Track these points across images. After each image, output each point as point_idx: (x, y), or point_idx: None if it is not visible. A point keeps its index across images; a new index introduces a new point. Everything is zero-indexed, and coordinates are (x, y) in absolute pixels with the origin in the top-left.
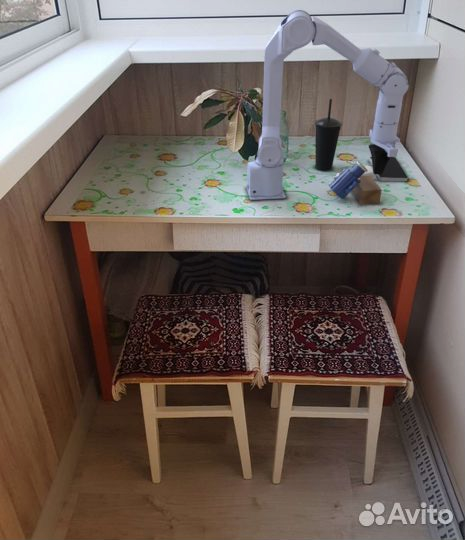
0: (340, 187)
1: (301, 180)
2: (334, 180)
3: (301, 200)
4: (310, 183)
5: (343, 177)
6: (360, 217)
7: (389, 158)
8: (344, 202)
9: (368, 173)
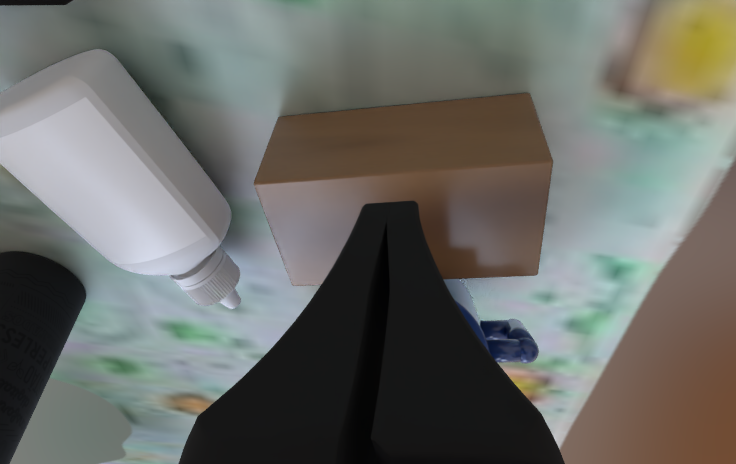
0: None
1: (233, 363)
2: None
3: None
4: (257, 344)
5: None
6: (674, 228)
7: (484, 348)
8: None
9: (134, 144)
